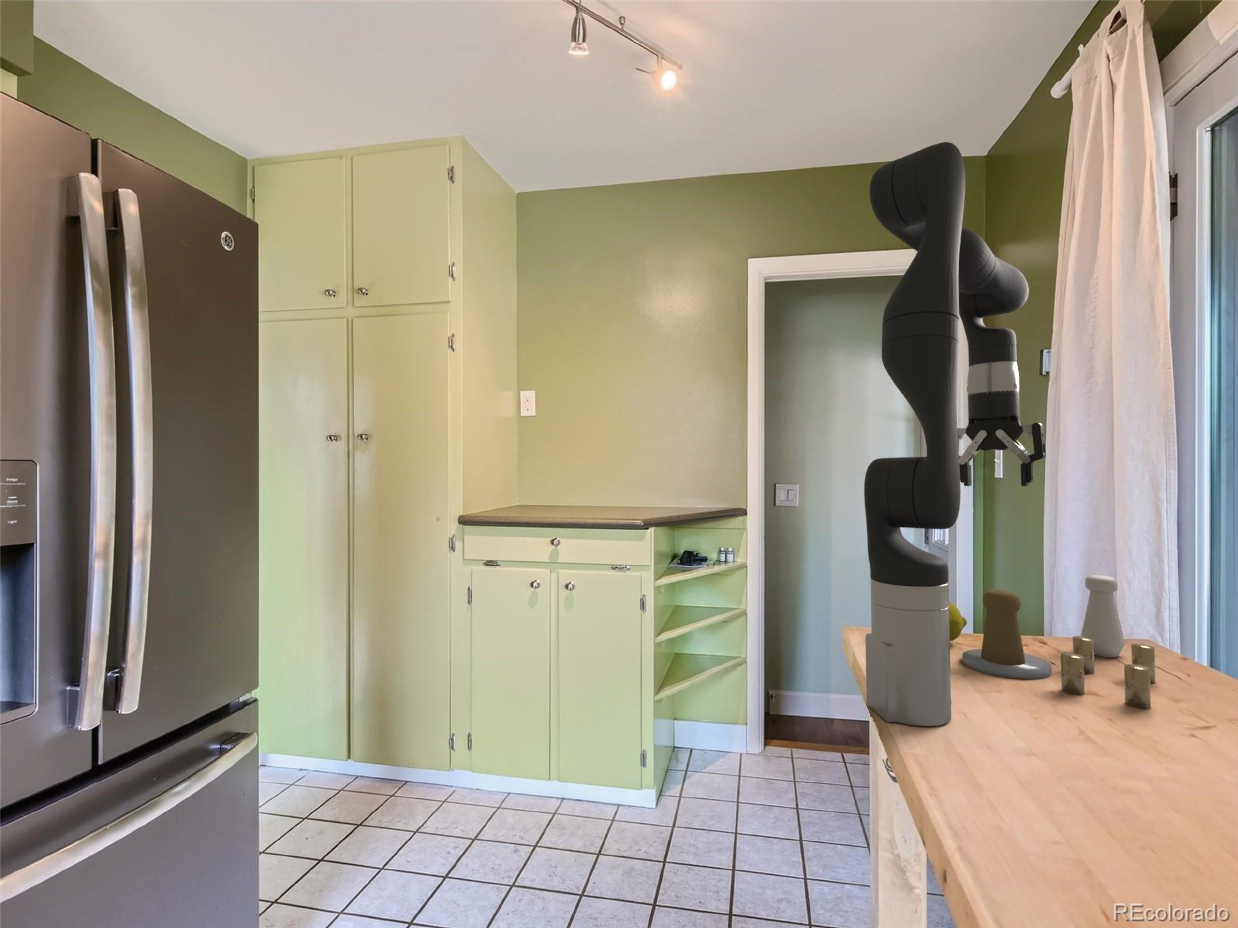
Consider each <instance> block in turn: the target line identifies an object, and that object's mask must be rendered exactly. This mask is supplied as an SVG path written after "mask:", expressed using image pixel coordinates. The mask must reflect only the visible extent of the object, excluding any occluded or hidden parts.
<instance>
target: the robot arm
mask: <svg viewBox="0 0 1238 928" xmlns="http://www.w3.org/2000/svg"><path fill="white" fill-rule="evenodd" d="M964 162H965V161H964V159H963V156H962V153H961V151H960V149H959V148H958V147H957V145H955V144H954V143H953V142H949V141H943V142H939V143H936V144H932V145H929V146H927V147H923V148H922V149H919V150H917V151H915V152H912V153H909V154H907V155H905V156H902V157H899V158H897V159H895V160H892V161H889V162H888V163H885V164H884V165H882V166H881V167H879V168H878V169H876V170H875V172H874V173H873V174H872V176H871V179H870V183H869V202H870V205H871V206H870V207H871V210H872V212H873V214H874V216H875V217H876V219H877V221H878V222H879V223H880V224H881V226H882V227H883V228H885V229H886V231H888V232H890V234H892V236H893V235H894V236H895V237H896V238H898V240H900V241H902V242H903V243H905V244H906V245H907V246H909V247H910V248H911V249H912V250H914V251H916V253H915V256H914V258H913V260H912V261H911V263H910V265H909V266H908V268H907V269H906V270H905V272H904V273H903V276H902V277H901V278H900V280H899V282H898V283H897V285H896V287H895V289H894V290H893V292H892V294H891V296H890V297H889V299H888V301H887V303H886V306H885V308H884V310H883V315H882V324H881V325H882V326H881V327H882V329H881V331H882V332H881V333H882V334H881V361H882V365H883V368H884V369H885V372H886V373H887V374H888V376H889V378H890V379H891V381H892V383H893V384H894V385H895V386H896V388H897V389H898V390H899V392H900V394H902V396H903V397H904V399H905V400H906V401H907V403H908V404H909V406H910V407H911V409H912V410H913V412H914V414H915V415H916V418H917V419H918V421H919V423H920V426H921V428H922V431H923V434H924V438H925V445H926V446H925V447H926V456H908V457H907V456H905V457H903V456H898V457H881V458H876V459H874V460H872V461H871V462H870V463H869V465H868V466H867V468H866V472H865V475H864V483H863V484H864V485H863V498H864V500H863V502H864V512H865V513H864V515H865V521H866V522H865V523H866V525H865V526H866V537H867V539H866V540H867V541H866V542H867V556H868V563H869V571H870V572H869V574H870V575H869V577H870V609H871V610H870V613H871V614H870V617H871V618H870V620H871V621H870V624H871V632H869V633H866V634H865V637H864V638H865V639H864V640H865V681H866V682H865V684H866V685H865V688H866V690H865V691H866V704H867V706H868V707H870V708H871V709H872V710H873V711H874V712H876V714H878V715H879V716H880V717H881V718H882V719H883V720H885V721H886V722H888V723H900V724H905V725H908V726H909V725H911V726H916V727H917V726H919V727H934V726H935V727H936V726H942V725H946V724H947V723H949V722H950V721H951V720H952V689H951V688H952V686H951V681H952V680H951V677H952V676H951V645H950V644H951V641H950V629H949V602H950V596H949V595H950V588H949V587H950V586H949V584H950V583H949V567H948V563H947V562H946V560H945V559H943V558H942V557H940V556H938V555H937V554H933V553H931V552H928V551H926V550H924V549H921V548H919V547H918V546H916V545H914V544H913V543H911V542H910V541H909V540H907V539H906V537H904V535H903V533H902V530H901V528H902V529H904V528H905V529H924V530H925V529H926V530H927V529H928V530H947V529H951V528H952V527H953V526H954V525H955V524H956V521H957V519H958V518H959V513H960V508H961V493H962V492H961V491H962V490H961V483H962V484H963V487H971V486H972V482H973V480H972V464H970V462H971V461H972V460H973V458H974V457H975V456H976V455H978V453H979V452H980V451H988V452H989V451H994V450H995V451H996V450H997V451H1007V450H1010V451H1011V452H1012V453H1013V454H1014V455H1016V457H1017V458H1018V459H1019V460H1020V461H1021V462H1022V463H1020V486H1021V487H1029V484H1030V483H1033V480H1034V463H1035V462H1037V461H1040V460H1043V459H1046V457H1047V451H1046V450H1047V449H1046V441H1045V428H1044V425H1043V423H1042V422H1041V423H1040V422H1033V423H1032V424H1031V423H1030V424H1023V423H1022V421H1021V415H1020V414H1021V412H1020V411H1021V410H1020V409H1021V408H1020V405H1021V404H1020V376H1019V370H1018V363H1017V361H1018V359H1017V357H1018V356H1017V336H1016V333H1015V331H1014V330H1013V329H1011V328H1005V327H990V326H989V327H988V326H986V325H985V323H984V322H983V319H984V318H986V317H987V318H988V317H993V316H999V315H1005V314H1009V313H1014V312H1016V311H1018V310H1019V309H1021V308H1022V307H1023V306H1024V305H1025V303H1026V302H1027V300H1028V297H1029V284H1028V282H1027V279H1026V277H1025V276H1024V274H1023V273H1022V272H1021V270H1019V269H1018V268H1017V267H1015V266H1013V265H1012V264H1010V263H1009V262H1006V261H1004V260H1003V259H1002V258H999V257H997V256H995V254H994V253H993V252H992V250H991V248H990V247H989V246H988V243H986V242H985V240H984V239H983V238H982V237H981V236H980V235H979V234H977V233H976V232H975V231H972V230H971V229H968V228H966V227H964V226H963V220H964V209H965V198H966V197H965V195H966V170H965V164H964ZM960 319H961V320H960ZM960 321H961V323H962V326H963V328H964V329H963V330H964V333H965V337H966V341H967V350H968V372H967V383H966V384H967V385H966V392H967V412H968V413H967V414H968V416H967V417H968V423H967V425H966V427H958V422H957V421H958V419H957V413H958V412H957V399H958V398H957V396H958V395H957V393H958V392H957V391H958V389H957V388H958V370H959V369H958V367H959V365H958V364H959V352H960V351H959V350H960V349H959V348H960ZM1024 432H1026V434H1027V436H1028V437H1029V438H1030V437H1031V438H1032V443H1033V453H1032V454H1030V453H1029V452H1028V451H1027V450H1026V448H1025V447H1024V446H1023V445H1022V443H1020V442H1019V441H1018V439H1019V438H1020V437H1021V436H1022V434H1023V433H1024ZM965 435H966V436H967V437H968V438H969V439H970V440H971V442H970V444H968V446H967V447H966V448H965V450H964V452H963V454H961V455H960V454H959V451H960V441H961V440H962V439H963V437H964V436H965Z"/></svg>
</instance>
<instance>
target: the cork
mask: <svg viewBox="0 0 1238 928" xmlns="http://www.w3.org/2000/svg"><path fill="white" fill-rule="evenodd" d="M982 604H983V606H984V608H985V609H986V612H985V613H986V614H985V619H984V620H985V622H984V630H983V637H982V645H981V649H982V651H981V658H982V659H984V660H986V661H989V662H992V663H996V664H1002V665H1022V664H1025V656H1024V646H1023V639H1022V635H1021V628H1020V623H1019V617H1018V612H1019V611H1020V609H1021V607H1022V600H1021V597H1020V596H1019V594H1018V593H1017V592H1015V591H1012V590H1008V589H1003V588H1002V589H997V588H996V589H995V588H994V589H989V590H988V589H987V590H986V591H985V592H984V593H983V595H982Z"/></svg>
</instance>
